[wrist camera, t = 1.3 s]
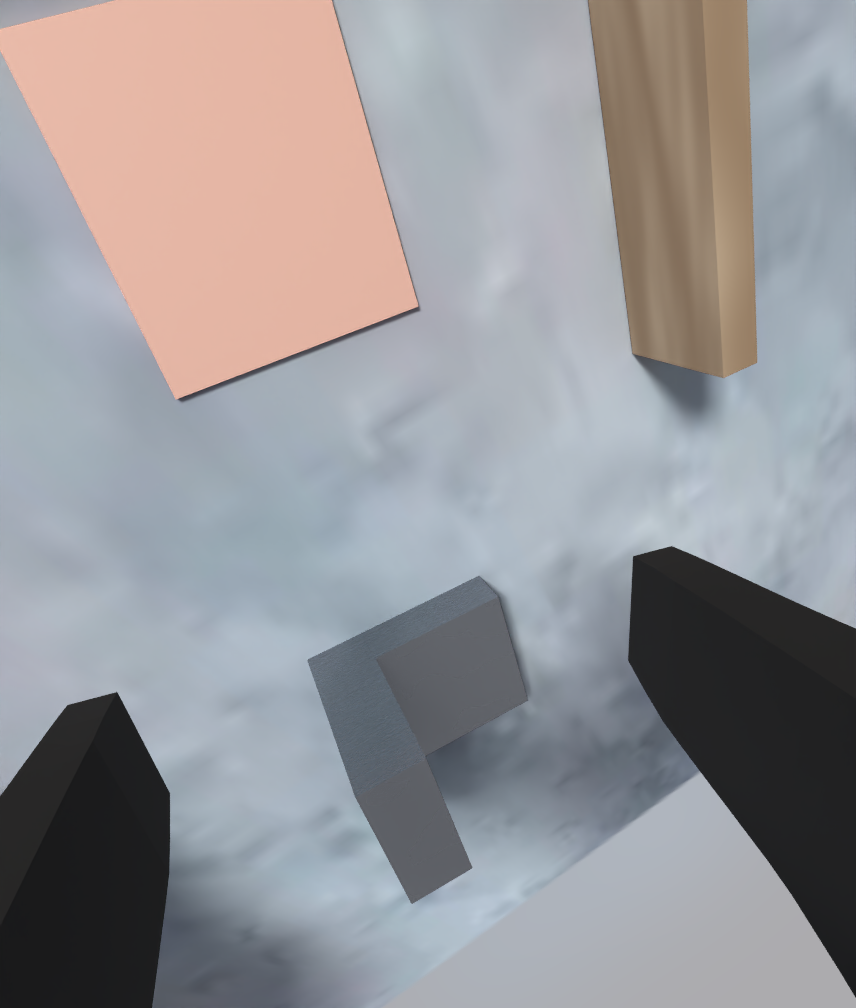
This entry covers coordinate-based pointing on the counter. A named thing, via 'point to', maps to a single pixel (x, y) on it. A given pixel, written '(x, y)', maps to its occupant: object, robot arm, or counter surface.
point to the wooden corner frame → (681, 175)
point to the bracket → (417, 719)
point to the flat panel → (218, 173)
